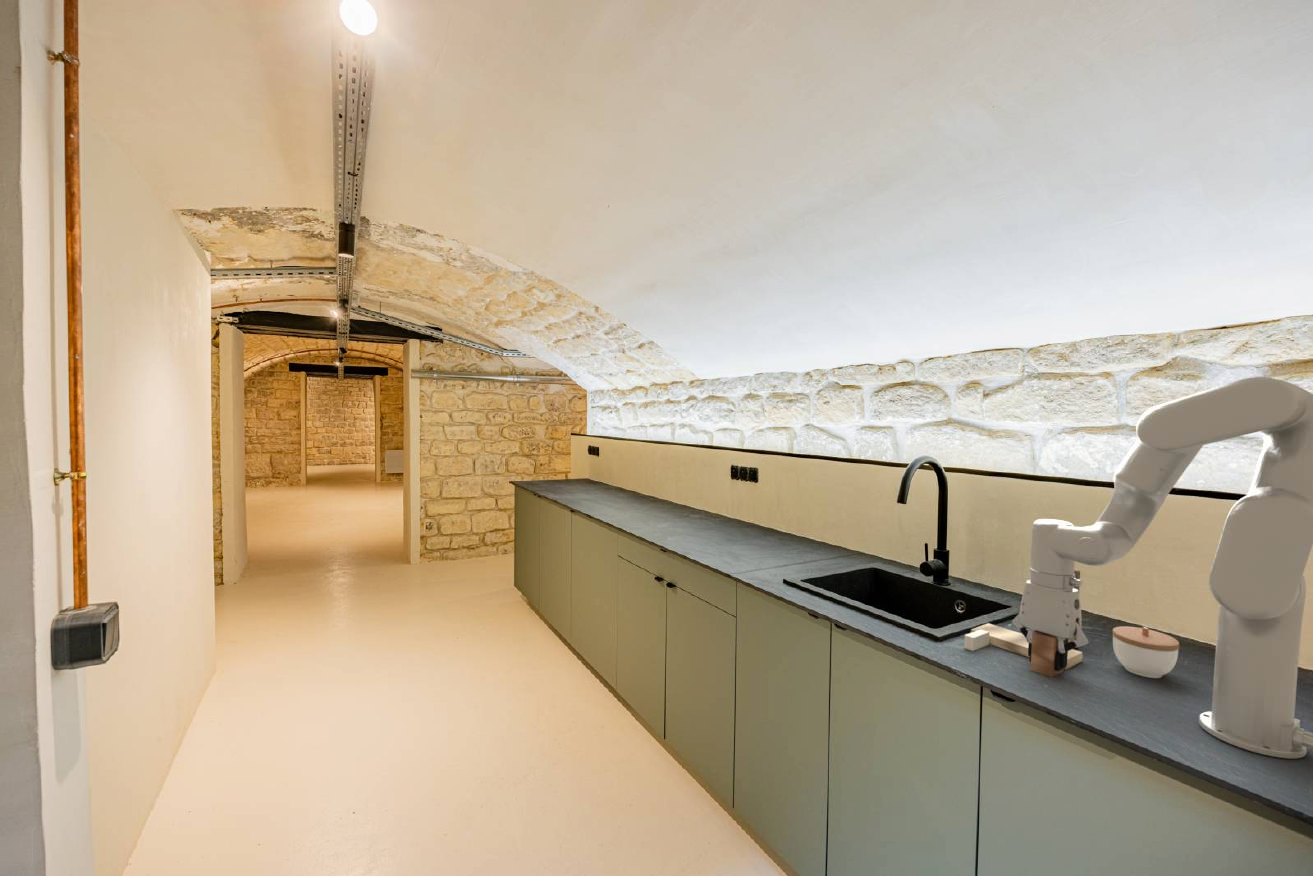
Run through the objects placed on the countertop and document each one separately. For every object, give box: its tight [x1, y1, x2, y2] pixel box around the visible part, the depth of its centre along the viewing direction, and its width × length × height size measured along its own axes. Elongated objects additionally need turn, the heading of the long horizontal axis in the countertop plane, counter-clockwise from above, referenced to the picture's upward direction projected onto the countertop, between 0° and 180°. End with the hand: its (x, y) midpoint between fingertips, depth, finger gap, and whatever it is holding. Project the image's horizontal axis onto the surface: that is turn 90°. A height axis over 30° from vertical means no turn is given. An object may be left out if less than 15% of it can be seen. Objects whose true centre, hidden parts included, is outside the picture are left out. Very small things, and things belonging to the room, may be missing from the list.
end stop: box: [963, 629, 990, 652], centre depth 133 cm, size 2×7×3 cm, turn 123°
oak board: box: [970, 622, 1083, 670], centre depth 132 cm, size 20×8×2 cm, turn 33°
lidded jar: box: [1112, 625, 1180, 679], centre depth 121 cm, size 11×11×9 cm
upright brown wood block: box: [1030, 631, 1075, 678], centre depth 123 cm, size 4×14×8 cm, turn 123°
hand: (1046, 664), depth 121 cm, fingers closed on upright brown wood block, 4 cm apart
